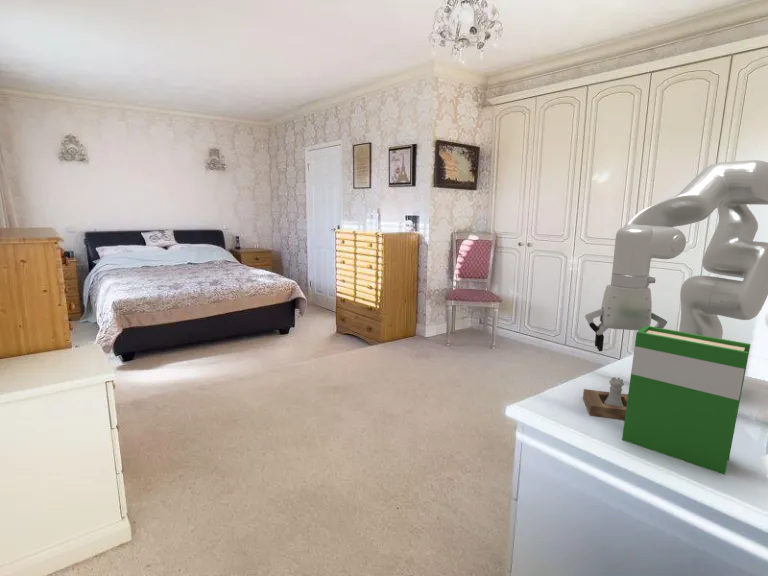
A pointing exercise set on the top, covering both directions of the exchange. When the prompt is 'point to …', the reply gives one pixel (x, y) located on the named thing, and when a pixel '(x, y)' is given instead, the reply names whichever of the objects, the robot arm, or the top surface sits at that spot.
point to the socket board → (604, 405)
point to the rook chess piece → (615, 392)
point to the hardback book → (685, 395)
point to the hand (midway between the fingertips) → (621, 351)
